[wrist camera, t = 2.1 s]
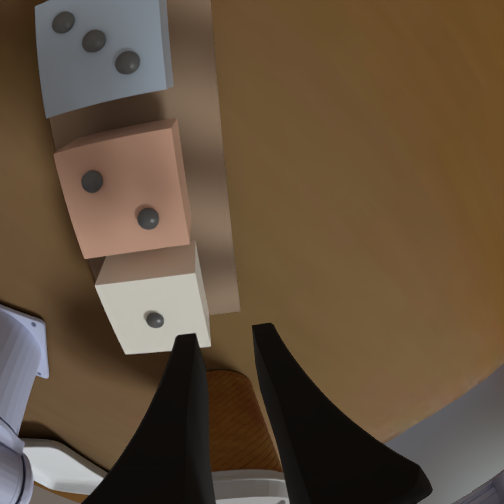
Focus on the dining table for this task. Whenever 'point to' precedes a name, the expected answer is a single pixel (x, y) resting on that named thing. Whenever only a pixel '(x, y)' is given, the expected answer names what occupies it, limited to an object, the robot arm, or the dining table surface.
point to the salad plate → (61, 467)
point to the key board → (192, 143)
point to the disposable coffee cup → (241, 444)
